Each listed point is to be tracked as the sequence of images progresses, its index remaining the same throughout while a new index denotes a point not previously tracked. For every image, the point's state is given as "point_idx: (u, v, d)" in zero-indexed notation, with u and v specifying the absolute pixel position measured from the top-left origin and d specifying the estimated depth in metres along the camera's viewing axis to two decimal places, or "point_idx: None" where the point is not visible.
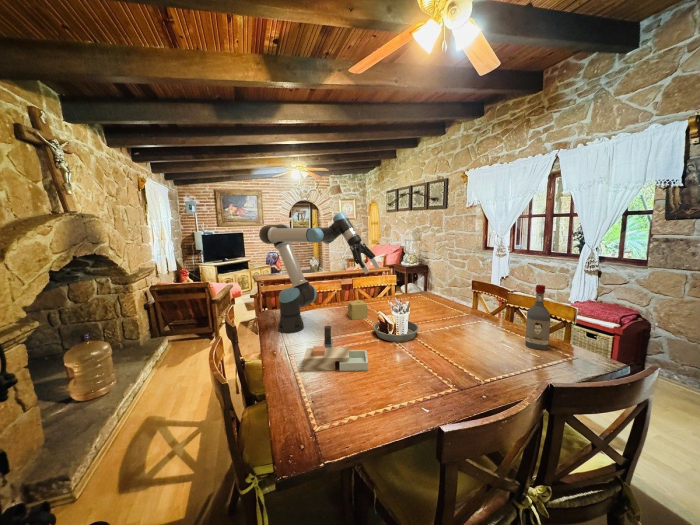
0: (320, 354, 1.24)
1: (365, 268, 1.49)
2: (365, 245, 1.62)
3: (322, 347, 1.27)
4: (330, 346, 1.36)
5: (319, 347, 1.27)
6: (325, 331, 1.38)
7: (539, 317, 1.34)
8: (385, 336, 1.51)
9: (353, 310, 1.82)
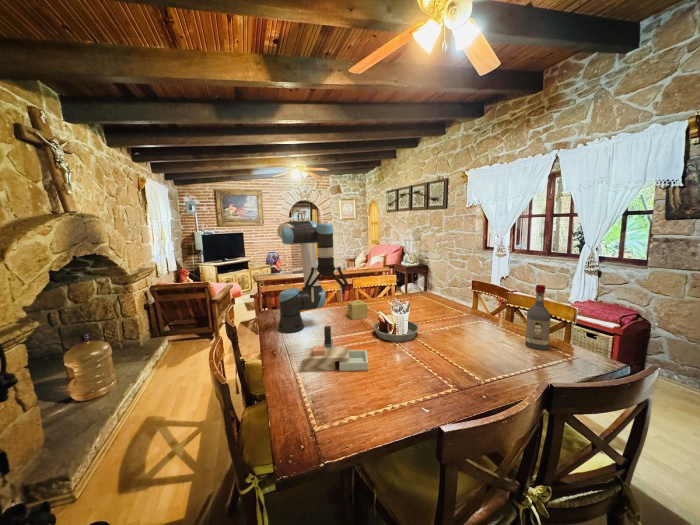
0: (320, 354, 1.24)
1: (311, 296, 1.37)
2: (339, 270, 1.34)
3: (322, 347, 1.27)
4: (330, 346, 1.36)
5: (319, 347, 1.27)
6: (325, 331, 1.38)
7: (539, 317, 1.34)
8: (385, 336, 1.51)
9: (353, 310, 1.82)
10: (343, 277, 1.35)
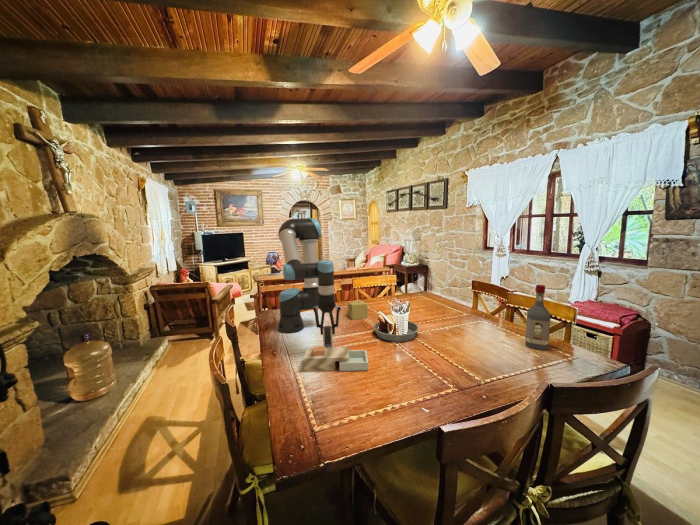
0: (320, 354, 1.24)
1: (323, 336, 1.39)
2: (338, 310, 1.37)
3: (322, 347, 1.27)
4: (330, 346, 1.36)
5: (319, 347, 1.27)
6: (325, 331, 1.38)
7: (539, 317, 1.34)
8: (385, 336, 1.51)
9: (353, 310, 1.82)
10: (337, 318, 1.37)
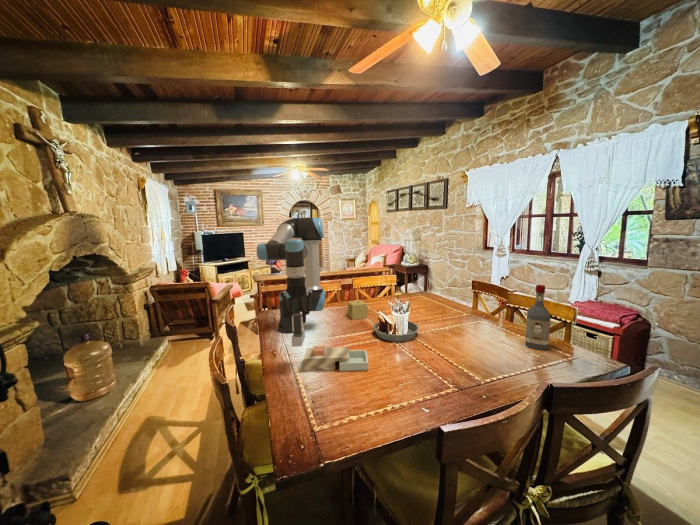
0: (320, 354, 1.24)
1: None
2: (309, 295, 1.21)
3: (322, 347, 1.27)
4: (300, 336, 1.20)
5: (319, 347, 1.27)
6: (294, 319, 1.22)
7: (539, 317, 1.34)
8: (385, 336, 1.51)
9: (353, 310, 1.82)
10: (308, 304, 1.22)
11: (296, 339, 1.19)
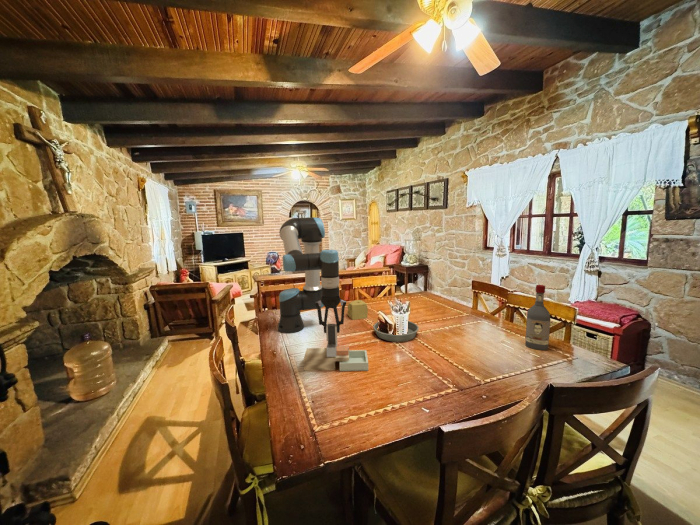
0: (344, 354, 1.23)
1: None
2: (343, 305, 1.22)
3: (346, 347, 1.27)
4: (334, 346, 1.21)
5: (343, 347, 1.27)
6: (329, 329, 1.23)
7: (539, 317, 1.34)
8: (385, 336, 1.51)
9: (353, 310, 1.82)
10: (343, 314, 1.22)
11: (331, 349, 1.20)
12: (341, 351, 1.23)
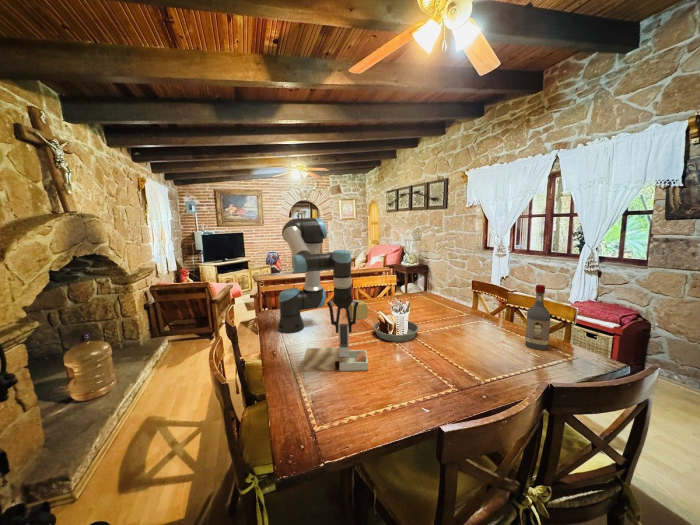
0: (358, 361, 1.24)
1: None
2: (356, 305, 1.22)
3: None
4: (347, 346, 1.22)
5: None
6: (341, 329, 1.23)
7: (539, 317, 1.34)
8: (385, 336, 1.51)
9: None
10: (355, 314, 1.23)
11: (343, 349, 1.21)
12: (362, 360, 1.24)
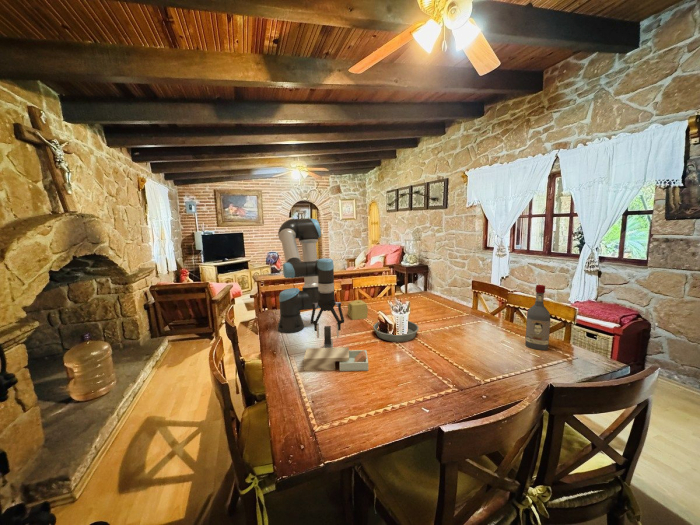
0: (358, 361, 1.24)
1: (317, 332, 1.39)
2: (339, 306, 1.36)
3: None
4: (330, 346, 1.36)
5: None
6: (325, 331, 1.38)
7: (539, 317, 1.34)
8: (385, 336, 1.51)
9: (353, 310, 1.82)
10: (341, 314, 1.37)
11: None
12: (362, 360, 1.24)
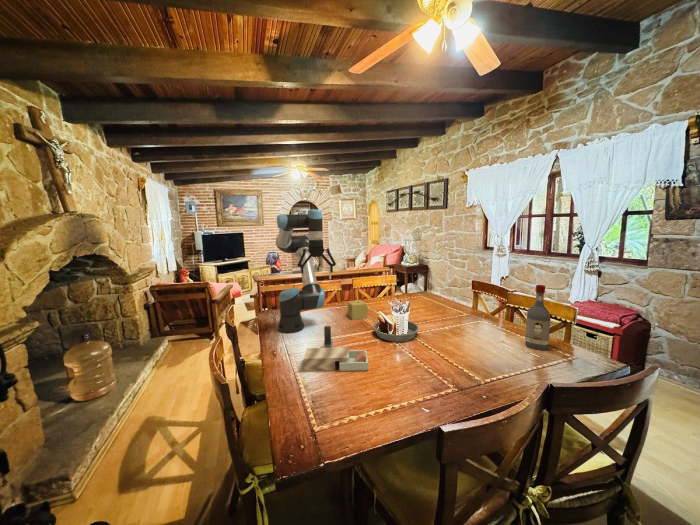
0: (358, 361, 1.24)
1: None
2: (328, 251, 1.52)
3: None
4: (330, 346, 1.36)
5: None
6: (325, 331, 1.38)
7: (539, 317, 1.34)
8: (385, 336, 1.51)
9: (353, 310, 1.82)
10: (331, 257, 1.52)
11: None
12: (362, 360, 1.24)
